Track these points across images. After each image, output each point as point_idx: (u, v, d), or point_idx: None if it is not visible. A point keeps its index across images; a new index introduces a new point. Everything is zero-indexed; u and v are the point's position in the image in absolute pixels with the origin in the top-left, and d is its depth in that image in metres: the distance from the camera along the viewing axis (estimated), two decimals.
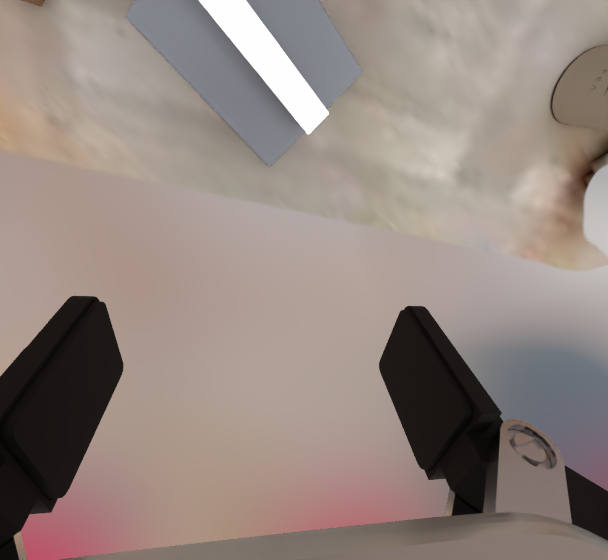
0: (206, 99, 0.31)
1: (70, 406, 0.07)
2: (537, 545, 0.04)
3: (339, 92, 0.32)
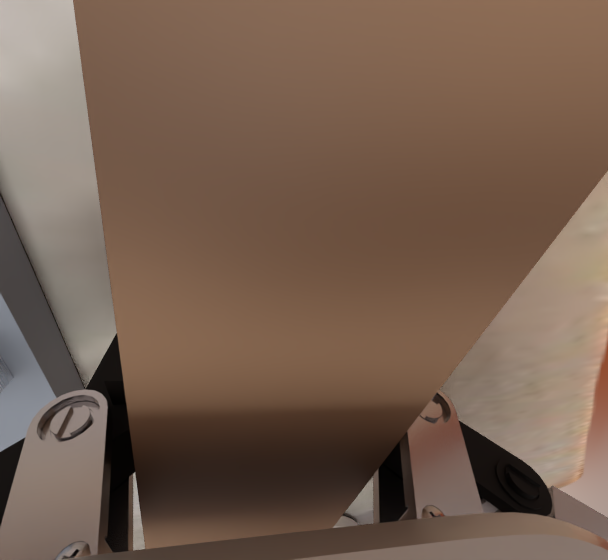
0: None
1: None
2: (537, 545, 0.04)
3: None
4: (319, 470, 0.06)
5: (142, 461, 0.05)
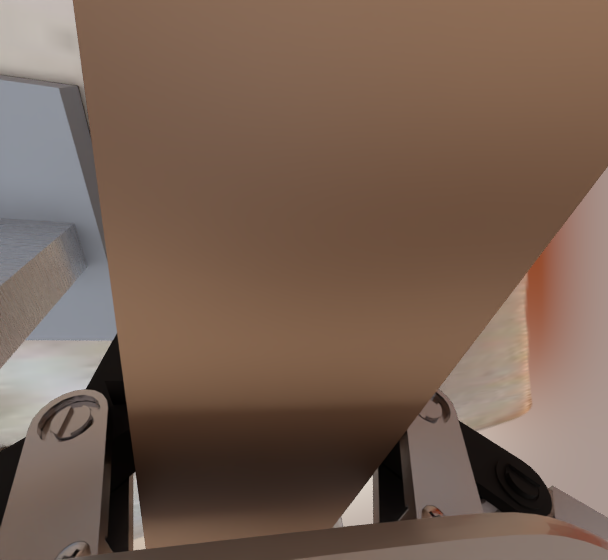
0: None
1: None
2: (537, 545, 0.04)
3: None
4: (319, 469, 0.06)
5: (142, 459, 0.05)
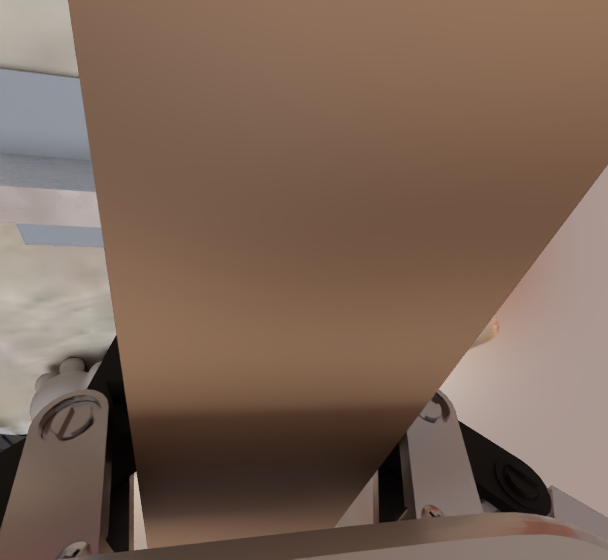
0: None
1: None
2: (537, 545, 0.04)
3: None
4: (320, 469, 0.06)
5: (143, 460, 0.05)
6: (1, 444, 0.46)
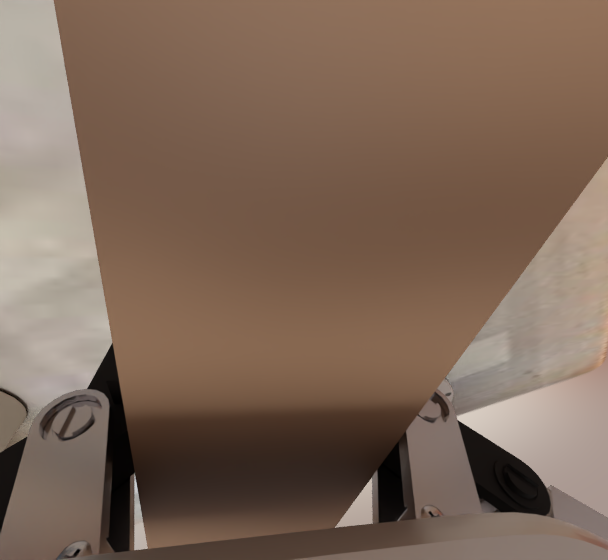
0: None
1: None
2: (537, 545, 0.04)
3: None
4: (319, 469, 0.06)
5: (141, 461, 0.05)
6: None
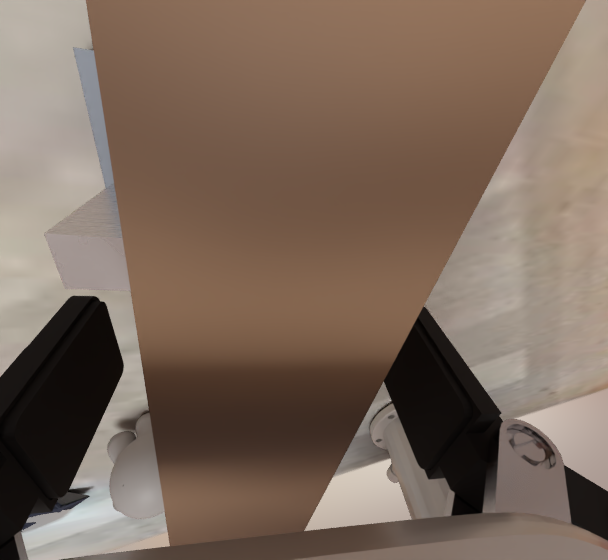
0: None
1: (70, 406, 0.07)
2: (537, 545, 0.04)
3: None
4: (309, 421, 0.07)
5: (156, 409, 0.06)
6: None
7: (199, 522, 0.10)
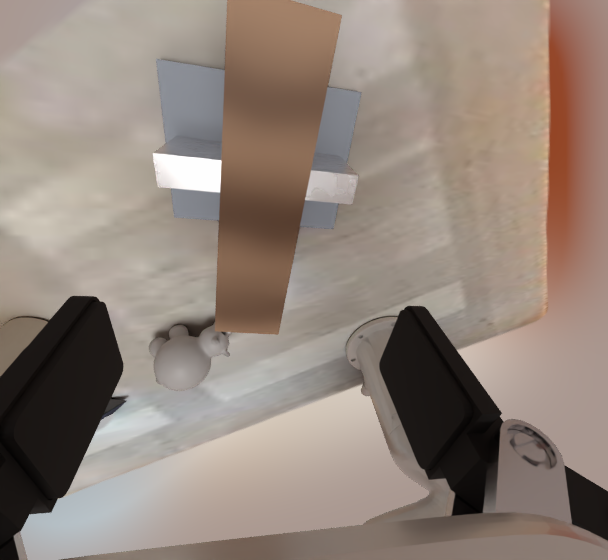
0: None
1: (70, 406, 0.07)
2: (537, 545, 0.04)
3: (173, 190, 0.31)
4: (280, 212, 0.18)
5: (222, 195, 0.17)
6: None
7: (231, 287, 0.21)
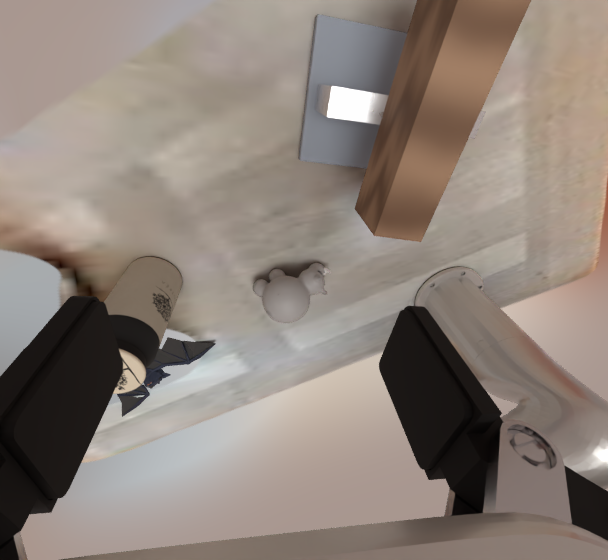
0: (402, 34, 0.31)
1: (70, 406, 0.07)
2: (537, 545, 0.04)
3: (305, 134, 0.36)
4: (458, 122, 0.23)
5: (422, 105, 0.22)
6: (179, 351, 0.55)
7: (401, 192, 0.26)
